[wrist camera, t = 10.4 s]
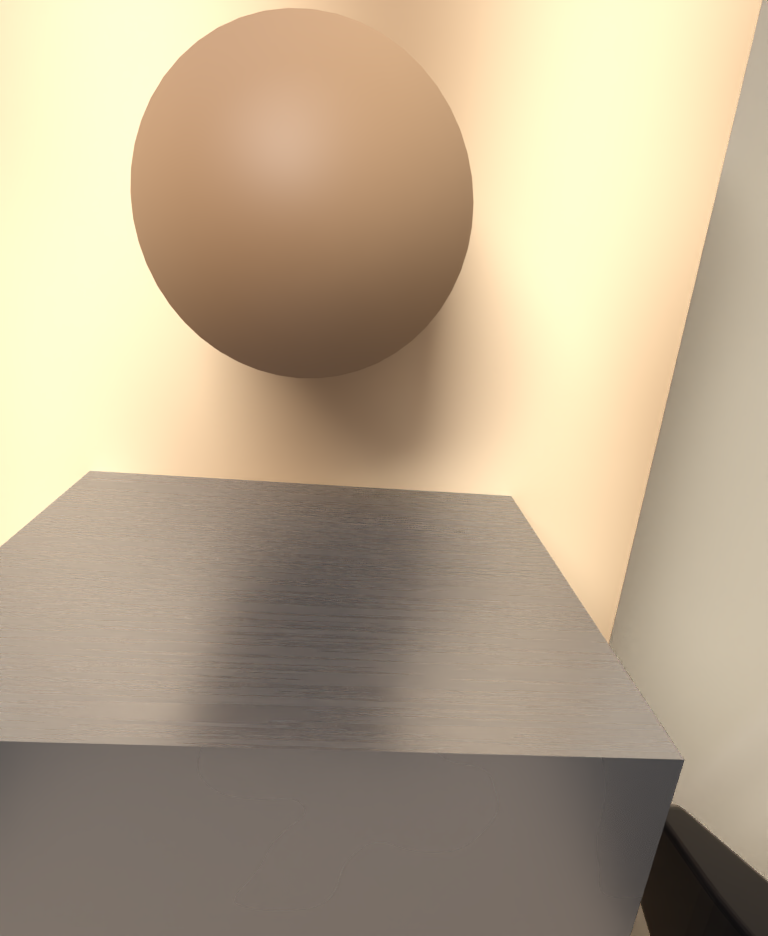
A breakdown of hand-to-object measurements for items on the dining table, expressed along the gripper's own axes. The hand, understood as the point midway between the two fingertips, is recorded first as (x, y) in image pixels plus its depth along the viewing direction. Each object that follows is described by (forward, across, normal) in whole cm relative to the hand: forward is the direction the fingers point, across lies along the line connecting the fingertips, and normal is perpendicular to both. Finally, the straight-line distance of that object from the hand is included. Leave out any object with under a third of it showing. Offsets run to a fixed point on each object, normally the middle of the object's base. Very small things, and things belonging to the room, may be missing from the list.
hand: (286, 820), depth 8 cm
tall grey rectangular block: (+3, 0, 0) cm, 3 cm away
